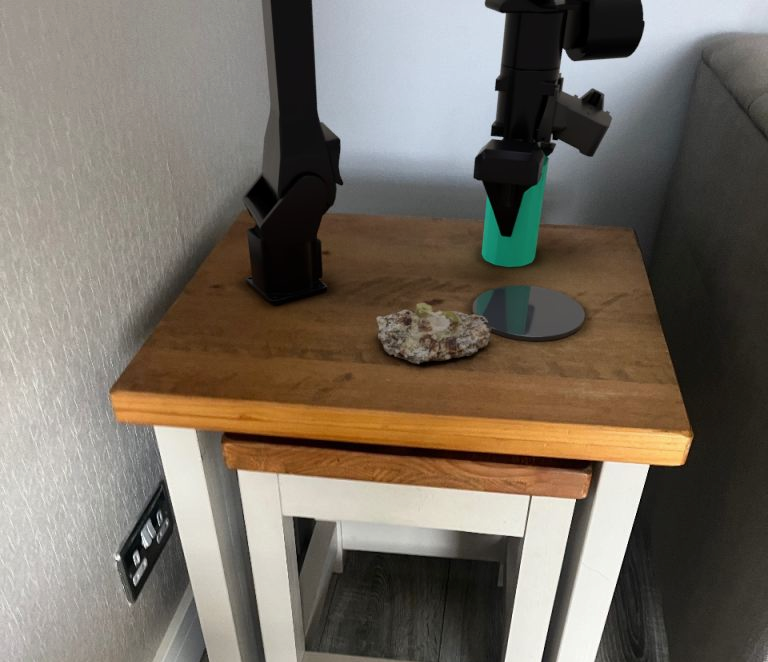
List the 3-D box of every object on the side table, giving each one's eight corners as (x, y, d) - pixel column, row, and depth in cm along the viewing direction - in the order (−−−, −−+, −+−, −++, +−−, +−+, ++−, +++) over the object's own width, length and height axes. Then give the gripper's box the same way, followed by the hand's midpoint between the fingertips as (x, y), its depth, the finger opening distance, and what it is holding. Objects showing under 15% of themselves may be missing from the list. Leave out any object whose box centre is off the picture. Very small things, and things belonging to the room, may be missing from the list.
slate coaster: (521, 352, 71) (522, 347, 71) (450, 306, 78) (450, 301, 78) (607, 322, 76) (608, 317, 76) (532, 281, 83) (533, 276, 83)
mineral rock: (376, 346, 67) (376, 283, 72) (374, 381, 71) (374, 319, 75) (500, 350, 68) (492, 287, 72) (491, 384, 71) (485, 323, 76)
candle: (533, 246, 90) (549, 135, 82) (536, 268, 85) (552, 152, 78) (481, 244, 90) (492, 133, 82) (481, 265, 86) (492, 150, 78)
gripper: (607, 94, 67) (575, 268, 77) (622, 51, 80) (594, 204, 91) (479, 83, 69) (465, 254, 79) (515, 43, 83) (499, 194, 93)
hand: (511, 225), depth 86 cm, fingers closed on candle, 6 cm apart
